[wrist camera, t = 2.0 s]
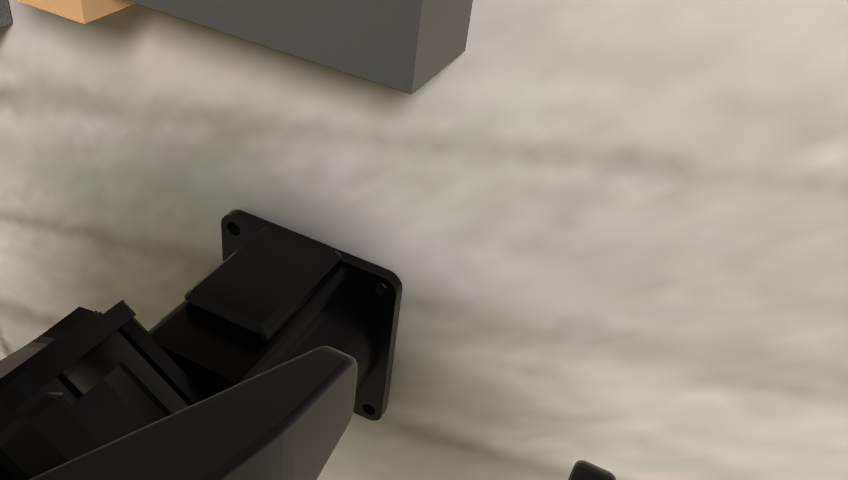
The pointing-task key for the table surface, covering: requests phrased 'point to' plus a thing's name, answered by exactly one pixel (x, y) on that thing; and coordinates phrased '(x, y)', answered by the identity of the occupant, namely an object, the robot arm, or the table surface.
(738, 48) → the table surface
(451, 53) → the plug
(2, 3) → the grey arch block
